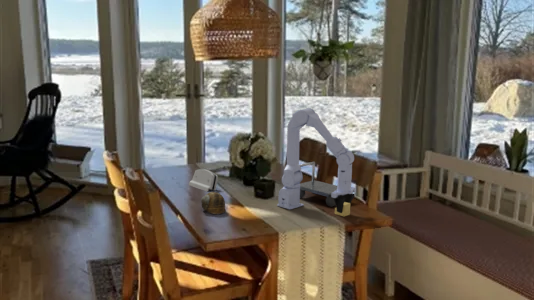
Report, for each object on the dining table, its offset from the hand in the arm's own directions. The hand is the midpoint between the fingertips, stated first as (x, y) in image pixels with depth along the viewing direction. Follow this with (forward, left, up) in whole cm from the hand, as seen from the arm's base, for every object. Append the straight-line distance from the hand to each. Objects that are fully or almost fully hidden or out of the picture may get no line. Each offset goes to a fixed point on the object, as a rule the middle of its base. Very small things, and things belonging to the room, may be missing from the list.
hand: (342, 211), depth 211 cm
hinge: (-17, +73, -2) cm, 75 cm away
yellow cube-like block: (0, 0, -1) cm, 1 cm away
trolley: (+11, +20, -1) cm, 23 cm away
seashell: (-38, +40, -2) cm, 55 cm away
